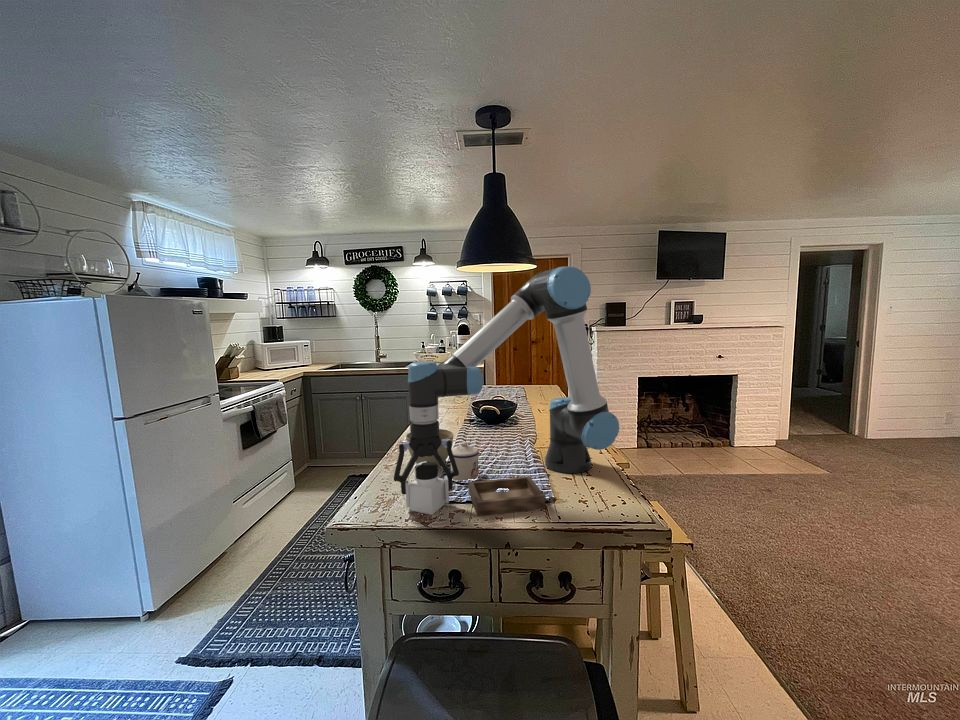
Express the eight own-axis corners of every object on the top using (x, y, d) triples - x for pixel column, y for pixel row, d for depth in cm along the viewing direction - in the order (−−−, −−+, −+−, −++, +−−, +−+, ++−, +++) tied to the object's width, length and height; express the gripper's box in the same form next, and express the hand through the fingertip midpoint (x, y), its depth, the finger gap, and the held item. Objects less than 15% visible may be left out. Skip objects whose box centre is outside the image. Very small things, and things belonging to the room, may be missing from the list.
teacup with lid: (477, 485, 126) (476, 447, 125) (447, 484, 128) (446, 446, 126) (482, 470, 138) (481, 436, 137) (455, 470, 139) (454, 435, 138)
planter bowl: (438, 476, 134) (437, 443, 133) (397, 469, 141) (396, 438, 140) (462, 460, 149) (461, 430, 147) (424, 455, 156) (423, 426, 154)
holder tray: (529, 487, 123) (529, 476, 123) (545, 508, 109) (545, 495, 109) (468, 493, 120) (468, 482, 120) (477, 516, 106) (477, 502, 106)
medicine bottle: (446, 504, 114) (444, 461, 113) (432, 515, 107) (430, 470, 106) (423, 500, 117) (422, 458, 116) (408, 510, 110) (407, 466, 109)
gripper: (379, 427, 104) (384, 514, 106) (468, 421, 108) (471, 505, 110) (381, 420, 111) (385, 501, 114) (464, 415, 115) (466, 493, 118)
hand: (427, 503), depth 112 cm, fingers closed on medicine bottle, 10 cm apart
